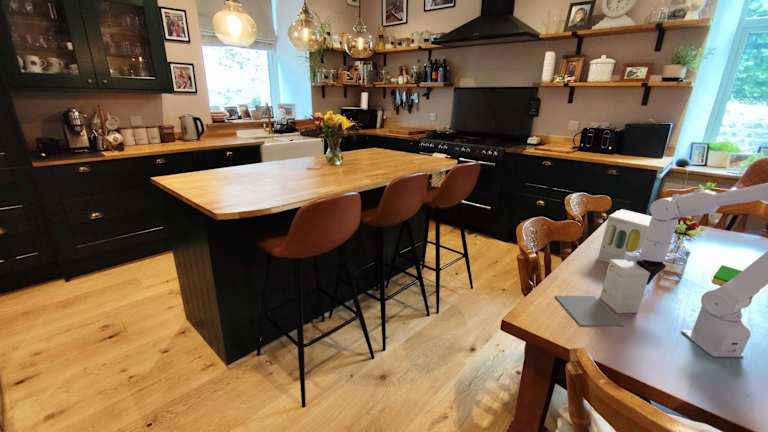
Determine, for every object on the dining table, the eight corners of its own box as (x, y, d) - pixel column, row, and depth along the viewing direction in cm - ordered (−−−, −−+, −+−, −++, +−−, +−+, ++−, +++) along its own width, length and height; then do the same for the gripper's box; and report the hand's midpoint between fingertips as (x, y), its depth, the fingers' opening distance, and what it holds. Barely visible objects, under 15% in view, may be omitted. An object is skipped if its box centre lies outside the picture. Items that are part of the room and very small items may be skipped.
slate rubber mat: (623, 326, 96) (624, 325, 95) (580, 325, 95) (580, 324, 95) (593, 297, 109) (593, 296, 109) (554, 296, 108) (555, 295, 108)
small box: (637, 313, 102) (651, 272, 97) (616, 313, 101) (628, 272, 97) (618, 297, 109) (630, 259, 105) (598, 297, 109) (609, 258, 104)
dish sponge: (746, 278, 124) (749, 272, 123) (739, 291, 116) (742, 285, 115) (719, 270, 129) (722, 264, 128) (711, 282, 121) (713, 276, 120)
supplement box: (596, 258, 134) (607, 215, 128) (609, 250, 142) (621, 208, 136) (636, 273, 124) (651, 226, 118) (648, 262, 132) (663, 218, 126)
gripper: (671, 234, 102) (657, 276, 107) (622, 233, 102) (610, 275, 106) (692, 245, 96) (676, 289, 100) (639, 244, 95) (626, 288, 100)
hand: (643, 283), depth 103 cm, fingers closed
